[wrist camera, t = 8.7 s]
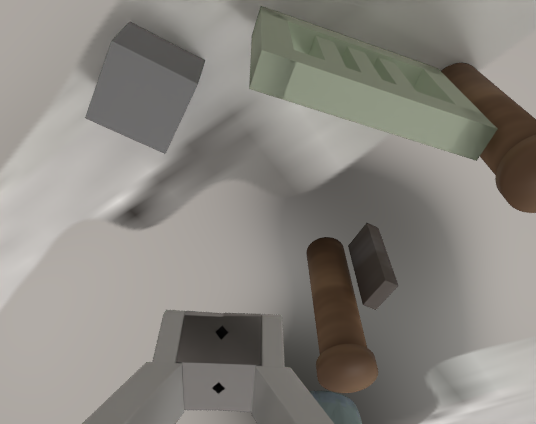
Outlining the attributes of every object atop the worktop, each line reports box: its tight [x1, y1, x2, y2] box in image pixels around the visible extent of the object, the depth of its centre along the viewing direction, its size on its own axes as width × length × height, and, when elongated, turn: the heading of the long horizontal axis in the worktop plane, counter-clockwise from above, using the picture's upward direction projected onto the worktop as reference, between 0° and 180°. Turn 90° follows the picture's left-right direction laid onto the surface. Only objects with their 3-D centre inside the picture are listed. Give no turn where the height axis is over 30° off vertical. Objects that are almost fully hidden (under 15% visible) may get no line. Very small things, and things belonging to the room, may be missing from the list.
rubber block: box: [85, 22, 205, 153], centre depth 26 cm, size 4×4×4 cm
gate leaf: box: [249, 6, 497, 161], centre depth 23 cm, size 2×10×8 cm, turn 71°
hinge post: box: [441, 63, 536, 213], centre depth 24 cm, size 3×3×11 cm
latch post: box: [307, 223, 398, 393], centre depth 30 cm, size 4×5×11 cm
